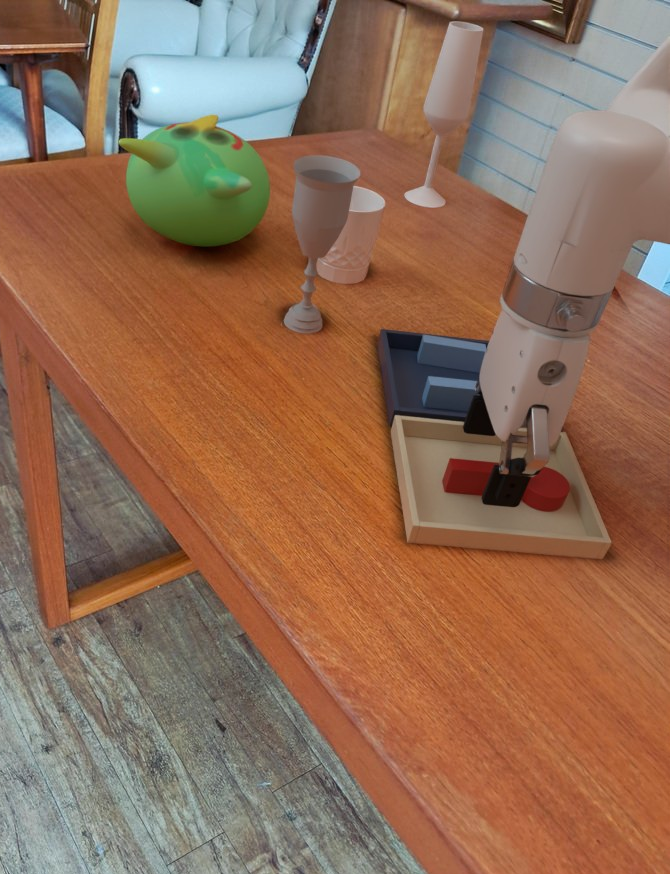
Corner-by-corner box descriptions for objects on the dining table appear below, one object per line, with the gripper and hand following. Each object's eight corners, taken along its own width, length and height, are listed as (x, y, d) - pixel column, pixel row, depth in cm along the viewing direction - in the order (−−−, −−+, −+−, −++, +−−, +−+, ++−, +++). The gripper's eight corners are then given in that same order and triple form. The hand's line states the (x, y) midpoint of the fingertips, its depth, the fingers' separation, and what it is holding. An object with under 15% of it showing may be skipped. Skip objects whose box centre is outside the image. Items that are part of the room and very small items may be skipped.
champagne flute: (396, 197, 123) (433, 22, 107) (416, 186, 128) (455, 17, 112) (434, 211, 121) (478, 35, 105) (453, 200, 125) (498, 29, 109)
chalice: (320, 349, 88) (348, 189, 76) (263, 332, 89) (282, 171, 77) (340, 320, 93) (369, 166, 81) (286, 304, 94) (307, 149, 82)
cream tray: (557, 451, 80) (565, 432, 78) (600, 562, 68) (612, 542, 67) (389, 434, 78) (394, 414, 76) (406, 546, 67) (412, 525, 65)
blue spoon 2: (524, 401, 85) (532, 379, 83) (533, 426, 81) (542, 404, 79) (420, 390, 84) (426, 368, 82) (425, 415, 80) (432, 392, 78)
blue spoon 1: (515, 364, 90) (523, 343, 88) (520, 386, 87) (528, 365, 85) (416, 349, 90) (422, 327, 88) (417, 370, 86) (423, 348, 84)
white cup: (360, 295, 98) (376, 217, 92) (301, 278, 100) (312, 200, 93) (376, 269, 104) (392, 194, 97) (319, 254, 105) (331, 179, 98)
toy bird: (274, 227, 110) (287, 115, 100) (247, 282, 97) (259, 160, 87) (148, 202, 110) (149, 88, 100) (106, 253, 98) (102, 129, 88)
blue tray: (522, 363, 91) (529, 345, 90) (555, 446, 80) (563, 426, 78) (376, 347, 90) (380, 328, 88) (388, 430, 79) (394, 409, 77)
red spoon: (556, 482, 75) (567, 459, 73) (568, 514, 72) (580, 491, 70) (439, 470, 74) (447, 447, 72) (446, 503, 71) (454, 479, 69)
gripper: (639, 363, 53) (552, 539, 65) (572, 248, 66) (509, 413, 78) (532, 351, 53) (463, 531, 64) (485, 238, 65) (434, 405, 77)
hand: (488, 466), depth 71 cm, fingers open, 9 cm apart
